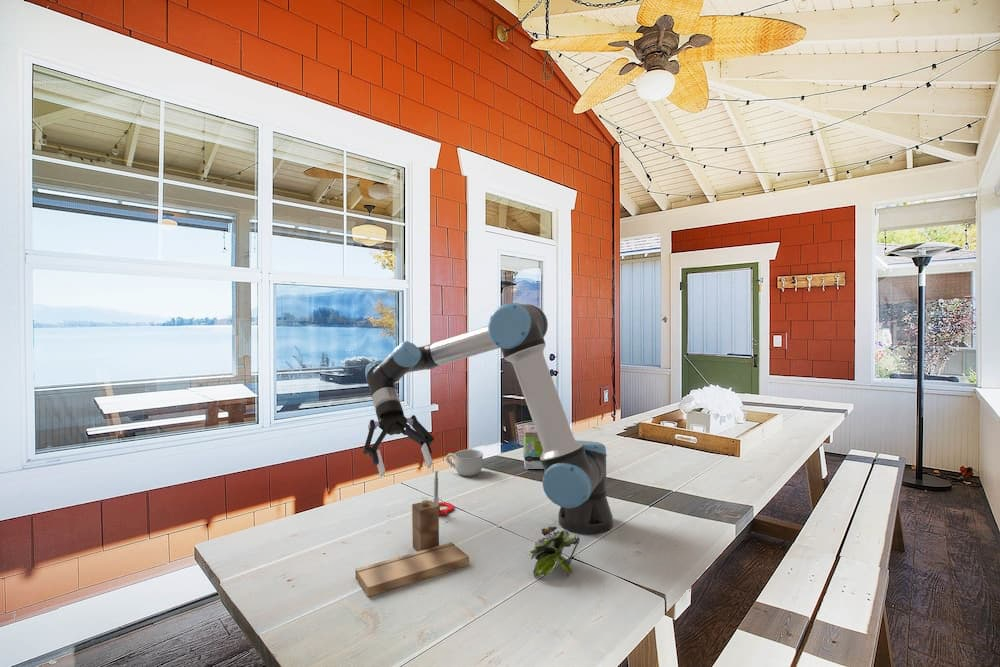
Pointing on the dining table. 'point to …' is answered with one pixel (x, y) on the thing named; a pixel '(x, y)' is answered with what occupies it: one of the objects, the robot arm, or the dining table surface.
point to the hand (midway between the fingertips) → (407, 469)
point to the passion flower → (552, 551)
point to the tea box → (532, 448)
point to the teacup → (467, 462)
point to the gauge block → (425, 525)
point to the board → (410, 568)
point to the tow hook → (436, 498)
